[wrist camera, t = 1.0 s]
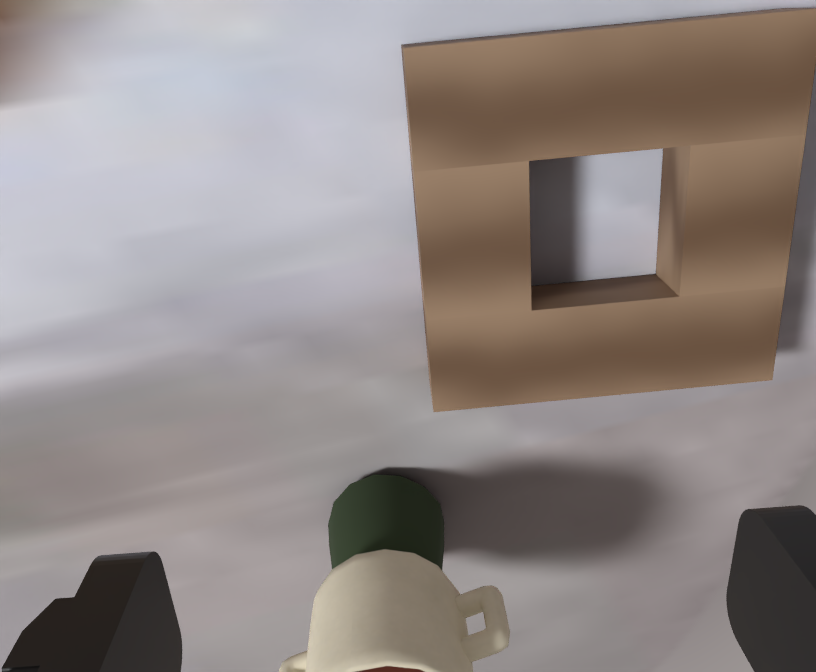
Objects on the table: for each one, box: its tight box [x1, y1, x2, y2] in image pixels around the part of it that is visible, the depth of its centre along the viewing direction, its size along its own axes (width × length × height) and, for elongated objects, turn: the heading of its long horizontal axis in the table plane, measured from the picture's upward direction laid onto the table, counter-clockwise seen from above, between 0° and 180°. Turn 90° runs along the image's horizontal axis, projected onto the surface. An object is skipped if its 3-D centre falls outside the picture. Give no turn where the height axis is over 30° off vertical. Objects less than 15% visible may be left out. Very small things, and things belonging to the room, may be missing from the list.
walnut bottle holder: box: [401, 8, 816, 412], centre depth 32 cm, size 16×16×3 cm
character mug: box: [279, 475, 510, 672], centre depth 34 cm, size 11×7×13 cm, turn 114°
